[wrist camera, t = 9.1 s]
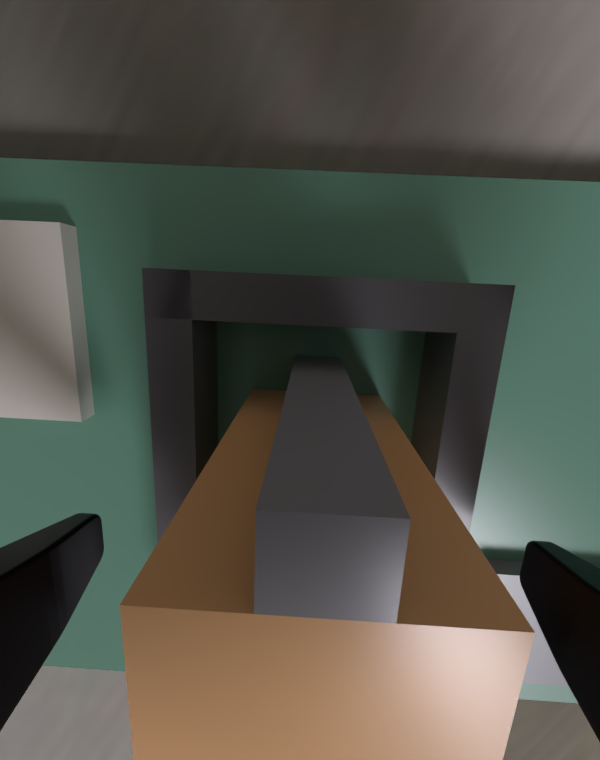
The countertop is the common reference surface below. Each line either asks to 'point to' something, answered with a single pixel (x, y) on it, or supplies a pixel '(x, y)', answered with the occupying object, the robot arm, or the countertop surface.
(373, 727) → the keyed plug
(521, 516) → the board
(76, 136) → the countertop surface
